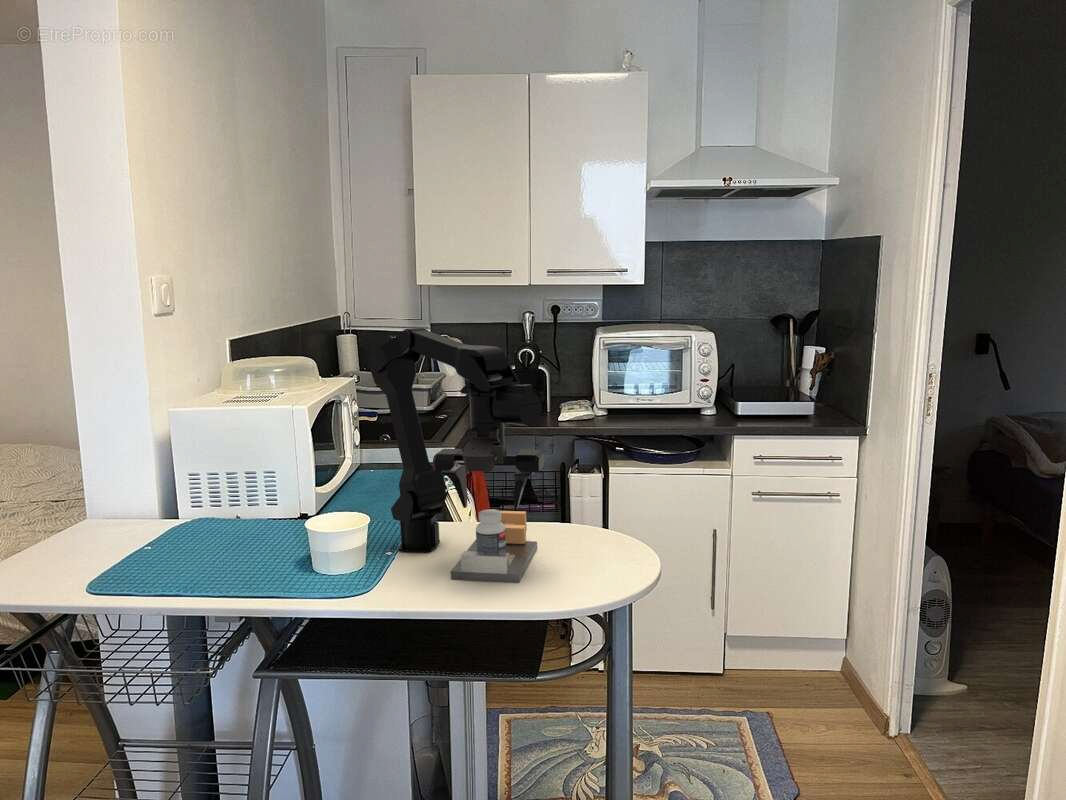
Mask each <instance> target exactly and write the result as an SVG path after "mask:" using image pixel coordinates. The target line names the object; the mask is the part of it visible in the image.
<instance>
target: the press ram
mask: <svg viewBox="0 0 1066 800" xmlns="http://www.w3.org/2000/svg"><path fill="white" fill-rule="evenodd" d="M500 511H501V517H502V519H501V521H500V522H501V523H503V524H504V526H505V536H506V543H512V544H524V543H525V542H526V541H527V530H528V528H527V527H528V525H527V511H521V510H520V511H519V510H518V511H517V510H516V511H515V510H500Z"/></svg>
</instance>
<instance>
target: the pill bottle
mask: <svg viewBox="0 0 1066 800" xmlns="http://www.w3.org/2000/svg"><path fill="white" fill-rule="evenodd" d="M501 511H502V510H498V509H493V508H492V509H483V510H481V511H479V512H478V522H479V523H478V524H477V525H476V527H475V540H476V544H477V552H499V553H506V536H505V526H504V524H503V523H501V522H500V521H501V519H502V517H501Z"/></svg>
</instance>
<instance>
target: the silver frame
mask: <svg viewBox="0 0 1066 800" xmlns="http://www.w3.org/2000/svg"><path fill="white" fill-rule="evenodd" d="M537 550H538V541H536V540H535V541H532V540H526V542H525V543H524V544H512V543H506V553H499V552H477V544H476V539H474V541H473V542H472V543H471V545H470V546H469V547H468V548H467V550H464V551H463V552H462V553H461V555H460V558H459V560H458V561H457V562H456V564H454V566H453V568H451V570H450V580H451V581H453V580H454V581H469V582H470V581H475V582H490V583H491V582H495V583H512V584H513V583H514V584H515V583H516V584H519V583H520V582H521V580H522V578H523V577H524V574H525V572H526V571H527V569H528V567H529V565H530V563H531V561H532V560H533V557H534V556H535V554H536V552H537Z"/></svg>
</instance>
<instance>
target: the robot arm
mask: <svg viewBox="0 0 1066 800" xmlns="http://www.w3.org/2000/svg"><path fill="white" fill-rule="evenodd" d="M505 353H506V352H505V350H504V349H503V348H501V347H499V346H492V345H477V344H475V345H474V344H473V345H472V344H466V343H463V342H460V341H458V340H454V339H451V338H450V337H446V336H443V335H440V334H438V333H434V332H432V331H429V330H428V329H427V328H424V327H412V328H405V329H403V330H402V331H401V330H400V332H399V333H398V334H397V335H396V336H394V337H393V338H391V339H389V340H388V341H386V342H384V343H382V344H381V345H380V346H378V348H375V349H374V350H373V351H372V352H371V353H370V357H369V359H368V367H369V371H370V373H371V376H372V379H373V381H374V382H373V383H374V384H375V385H376V386H377V387H378V388H379V389H380V390H381V392H383V394H384V395H385V396H386V401H387V404H388V410H389V413H390V414H389V415H390V416H391V421H392V425H393V429H394V433H395V439H396V443H397V447H398V451H399V455H400V460H401V465H402V468H403V469H402V473H401V476H400V479H399V482H398V489H399V497H398V498H397V499H396V501H395V502H394V504H393V505H392V506H391V508H390V511H391V516H392V519H393V520H394V521H398V522H399V525H400V526H399V527H400V528H399V529H400V544H401V545H400V546H399V547H398V549H397V550H398V552H411V553H412V552H413V553H431V552H433V550H434V549H435V548H436V547H437V546H438V544H439V543H440V542H441V539H440V527H439V525H440V523H439V522H438V521H437V516H436V515H437V514H442V513H443V509H444V504H445V501H446V499H447V490H448V487H447V484H446V481H445V476H446V477H447V478H448V479H449V480H450V481H451V483H452V484H453V486H454V488H455V490H456V493H457V496H458V499H459V500H460V502H461V503H460V504H461V506H462V508H463V509H466V508H467V507H468V485H467V472H468V473H473V472H483V473H490V472H492V471H493V470H494V469H495V468H494V467H495V466H510V467H513V466H514V467H515V468H516V470H517V471H516V472H515V473H514V480H515V481H514V496H513V507H514V510H517V509H518V508H519V506H520V502H521V499H522V495H523V492H524V489H525V485H526V484H527V481H528V479H529V477H532V476H534V474H535V473H537V472H540V471H541V469H543V467H544V465H545V455H544V452H543V451H542V450H541V449H520V450H519V451H518V452H517V454H507V447H506V444H505V429H506V424H509V425H519V426H525V427H532V426H535V425H536V424H537V423H538V422H539V420H540V418H541V415H542V411H543V403H542V402H541V398H540V397H539V395H538V394H537V393H536V392H534V387H533V386H534V385H533V384H529V383H528V384H527V383H525V384H521V381H520V379H519V378H518V376H517V374H516V372H515V370H514V369H513V367H512V365H511V363H510V362H509V359H507V356H506V354H505ZM423 356H424V357H427V358H430V359H432V360H435V361H437V362H440V363H442V364H445V365H448V366H450V367H452V368H454V370H455V371H456V374H457V375H458V376H460V377H462V378H463V379H465V380H466V381H467V383H466V384H465V385H464V386H463V387H462V388H461V389H460V393H461V394H462V395H463V394H464V395H469V409H470V410H469V413H470V428H469V437H468V441H467V443H466V445H465V447H464V450H463V449H462V448H443V449H441V450H440V451H438V452H436V454H434V456H433V458H432V463H431V462H430V460H429V456H428V452H427V448H426V443H425V440H424V439H425V438H424V436H423V435H424V434H423V432H422V428H421V427H422V426H421V422H420V419H419V414H418V410H417V406H416V402H415V398H414V393H413V386H414V384H415V380H416V376H417V371H416V369H417V368H416V364H418V362H419V361H421V359H422V358H423Z"/></svg>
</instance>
